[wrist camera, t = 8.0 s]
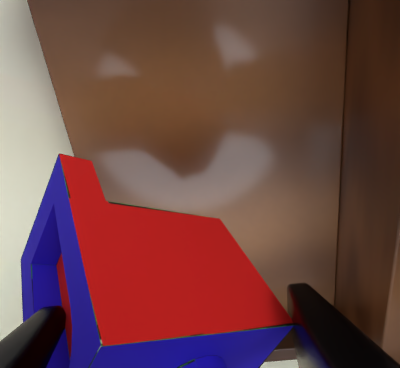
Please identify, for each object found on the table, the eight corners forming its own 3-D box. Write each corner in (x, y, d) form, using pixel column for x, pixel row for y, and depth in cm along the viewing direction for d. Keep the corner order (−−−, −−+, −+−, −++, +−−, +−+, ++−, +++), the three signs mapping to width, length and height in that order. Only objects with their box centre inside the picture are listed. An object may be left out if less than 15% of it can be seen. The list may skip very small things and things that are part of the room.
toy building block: (150, 264, 12) (280, 580, 6) (19, 259, 10) (35, 777, 4) (194, 184, 11) (413, 489, 5) (57, 152, 8) (173, 696, 2)
